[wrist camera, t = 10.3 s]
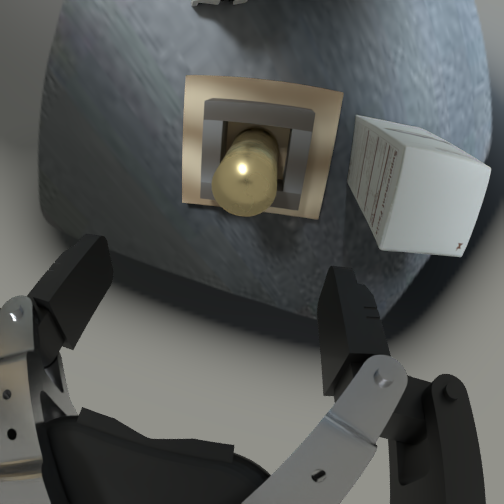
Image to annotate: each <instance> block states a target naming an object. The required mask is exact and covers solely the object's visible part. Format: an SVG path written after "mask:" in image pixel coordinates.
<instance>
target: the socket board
mask: <svg viewBox="0 0 504 504" xmlns="http://www.w3.org/2000/svg"><path fill="white" fill-rule="evenodd" d="M342 99H343V93H342V92H338V91H333V90H329V89H323V88H318V87H313V86H307V85H301V84H295V83H288V82H281V81H273V80H264V79H254V78H243V77H229V76H206V75H186V82H185V98H184V120H183V157H182V203H192V204H202V205H211V206H219V207H221V206H220V205H219V204H218V203H217V201H216V200H215V198H214V196H213V192H212V178H213V175H214V173H215V171H216V170H217V168H218V166H219V165H220V163H221V161H222V160H223V158H224V157H225V155H226V153H227V152H228V150H229V149H230V147H231V145H232V142H233V140H234V139H235V137H236V136H237V134H238V133H239V132H240V131H241V130H243V129H245V128H247V127H250V126H261V127H264V128H266V129H268V130H270V131H271V132H272V133H273V134H274V135H275V137H276V139H277V141H278V146H279V154H278V159H277V193H276V196H275V199H274V201H273V203H272V204H271V205H270V207H269V208H268V209H266V210H265V211H264V212H268V213H276V214H283V215H290V216H297V217H304V218H311V219H318V218H319V213H320V209H321V205H322V200H323V196H324V191H325V187H326V182H327V177H328V173H329V168H330V163H331V158H332V153H333V148H334V143H335V138H336V132H337V127H338V122H339V116H340V110H341V105H342Z"/></svg>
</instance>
